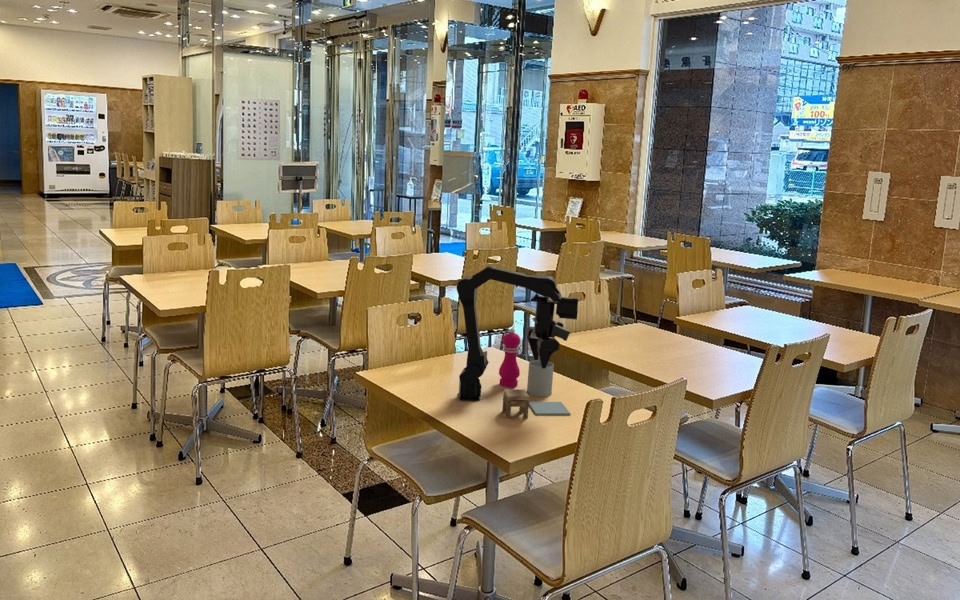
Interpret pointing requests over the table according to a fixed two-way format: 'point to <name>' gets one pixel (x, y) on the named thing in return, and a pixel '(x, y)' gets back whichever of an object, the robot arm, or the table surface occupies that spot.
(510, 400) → the stool
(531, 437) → the table surface
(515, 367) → the pepper mill
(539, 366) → the cup
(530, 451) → the table surface
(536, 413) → the mat
